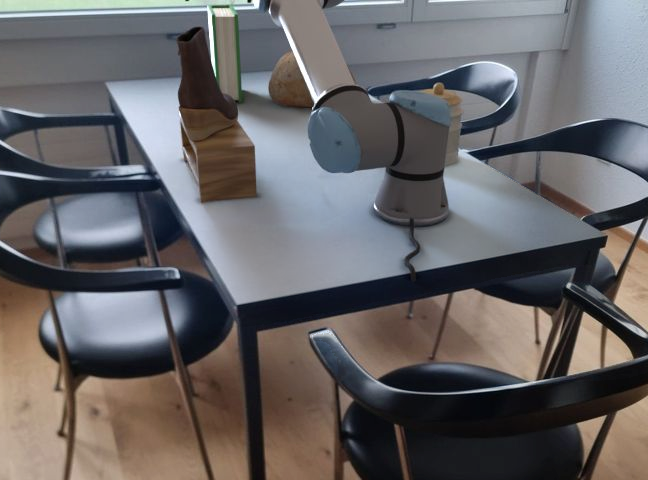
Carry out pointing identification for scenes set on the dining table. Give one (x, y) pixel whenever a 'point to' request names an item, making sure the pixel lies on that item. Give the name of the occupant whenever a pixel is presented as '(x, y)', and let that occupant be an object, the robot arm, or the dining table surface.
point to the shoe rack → (222, 163)
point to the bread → (290, 83)
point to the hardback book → (225, 49)
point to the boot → (201, 89)
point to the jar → (454, 119)
